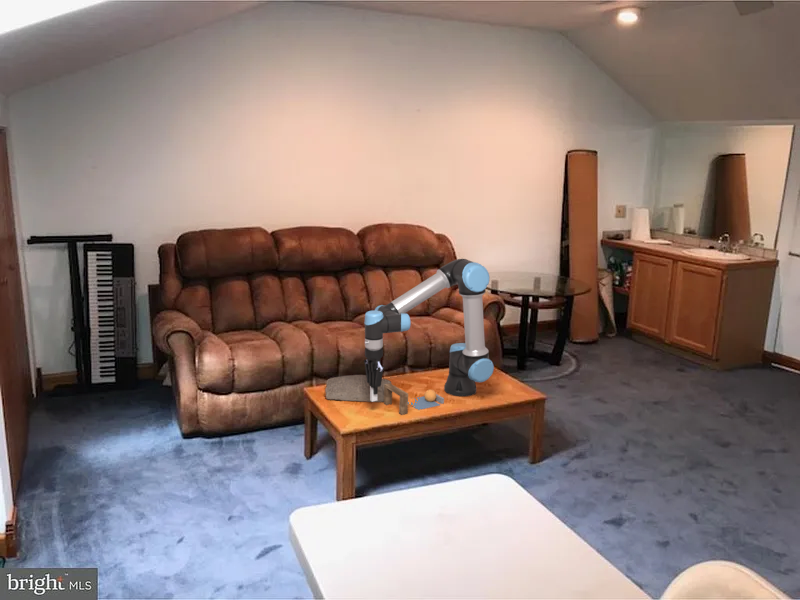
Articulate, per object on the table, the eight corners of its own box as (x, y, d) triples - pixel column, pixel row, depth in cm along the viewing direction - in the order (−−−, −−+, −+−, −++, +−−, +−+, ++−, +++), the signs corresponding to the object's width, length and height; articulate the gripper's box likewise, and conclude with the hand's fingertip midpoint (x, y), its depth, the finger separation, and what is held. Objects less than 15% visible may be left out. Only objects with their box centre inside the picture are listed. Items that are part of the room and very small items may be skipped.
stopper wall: (430, 396, 313) (431, 391, 313) (443, 403, 305) (444, 398, 305) (428, 396, 313) (428, 391, 312) (441, 403, 305) (441, 398, 304)
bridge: (389, 402, 304) (390, 383, 302) (407, 413, 292) (408, 393, 290) (383, 403, 302) (384, 384, 300) (401, 415, 290) (402, 394, 288)
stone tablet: (324, 402, 302) (391, 403, 303) (324, 385, 301) (391, 386, 301) (328, 387, 322) (391, 388, 323) (328, 370, 320) (391, 371, 321)
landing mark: (424, 396, 313) (424, 396, 313) (440, 405, 303) (440, 404, 303) (403, 401, 306) (403, 400, 306) (418, 410, 297) (418, 409, 296)
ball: (433, 395, 311) (430, 385, 309) (440, 399, 306) (437, 389, 304) (423, 401, 309) (420, 391, 306) (430, 405, 304) (427, 395, 302)
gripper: (358, 345, 287) (358, 397, 293) (374, 353, 277) (374, 407, 282) (373, 342, 291) (373, 393, 297) (389, 350, 281) (389, 403, 286)
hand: (373, 400), depth 290 cm, fingers closed
